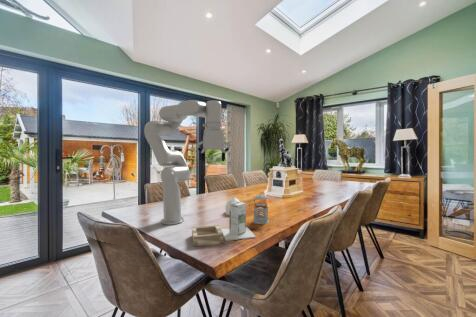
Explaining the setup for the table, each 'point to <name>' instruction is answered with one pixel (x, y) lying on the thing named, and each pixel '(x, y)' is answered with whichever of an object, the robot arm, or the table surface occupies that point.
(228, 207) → the teardrop
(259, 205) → the grey lantern
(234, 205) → the syrup box
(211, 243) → the holder
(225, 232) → the mat
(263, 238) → the table surface
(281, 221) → the table surface
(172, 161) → the robot arm
